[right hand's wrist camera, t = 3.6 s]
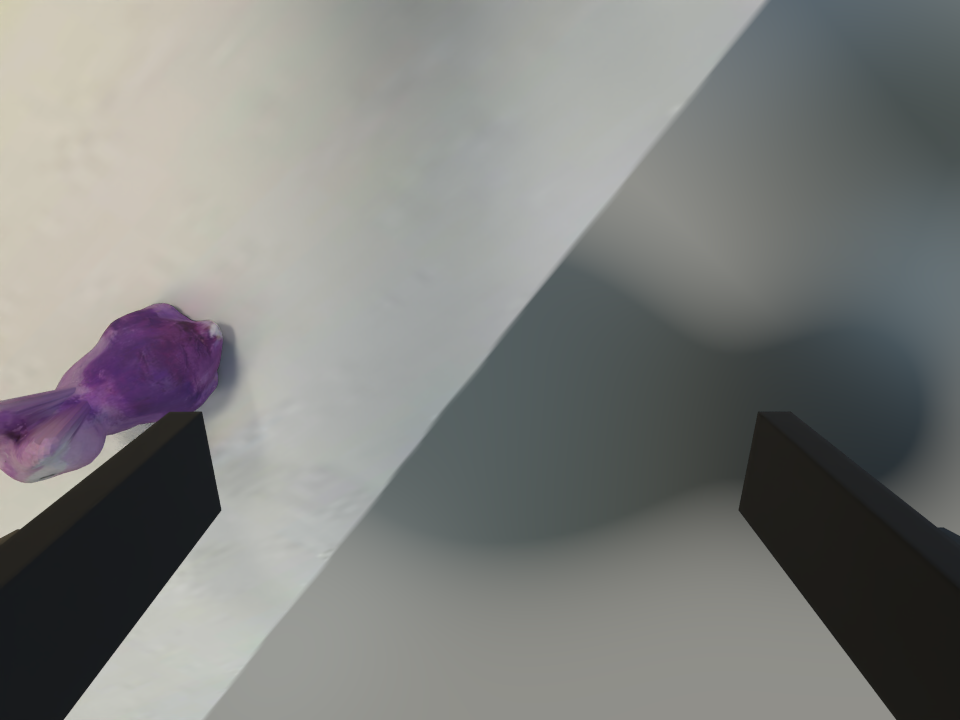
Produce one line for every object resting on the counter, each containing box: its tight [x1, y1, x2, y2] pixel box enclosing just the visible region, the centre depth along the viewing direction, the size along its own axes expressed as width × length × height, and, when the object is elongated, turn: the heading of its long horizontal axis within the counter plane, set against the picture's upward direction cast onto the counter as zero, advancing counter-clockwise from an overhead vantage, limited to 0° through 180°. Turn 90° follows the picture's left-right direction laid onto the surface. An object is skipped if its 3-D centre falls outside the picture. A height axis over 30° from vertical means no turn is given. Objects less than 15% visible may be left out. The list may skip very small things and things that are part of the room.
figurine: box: [0, 303, 223, 483], centre depth 35 cm, size 9×10×15 cm
